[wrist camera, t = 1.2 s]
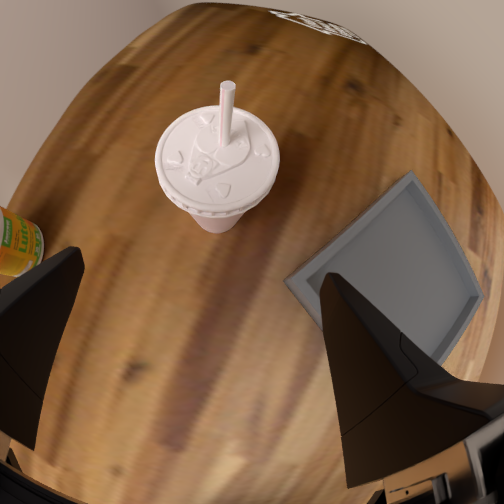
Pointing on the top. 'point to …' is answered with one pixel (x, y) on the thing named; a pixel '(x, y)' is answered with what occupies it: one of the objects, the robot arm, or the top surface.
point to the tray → (400, 268)
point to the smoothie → (217, 162)
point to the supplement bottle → (19, 244)
